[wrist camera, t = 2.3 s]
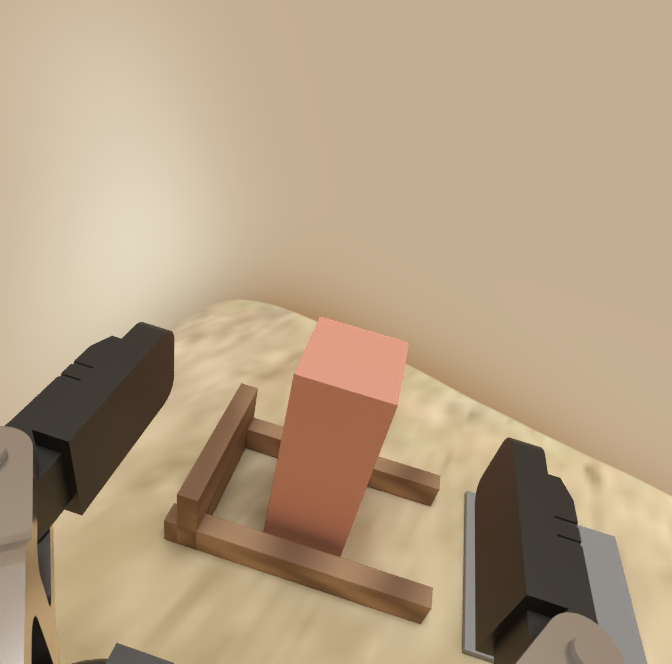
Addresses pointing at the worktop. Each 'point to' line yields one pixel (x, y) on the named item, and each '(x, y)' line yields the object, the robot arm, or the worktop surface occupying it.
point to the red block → (333, 433)
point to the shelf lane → (276, 553)
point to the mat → (604, 584)
